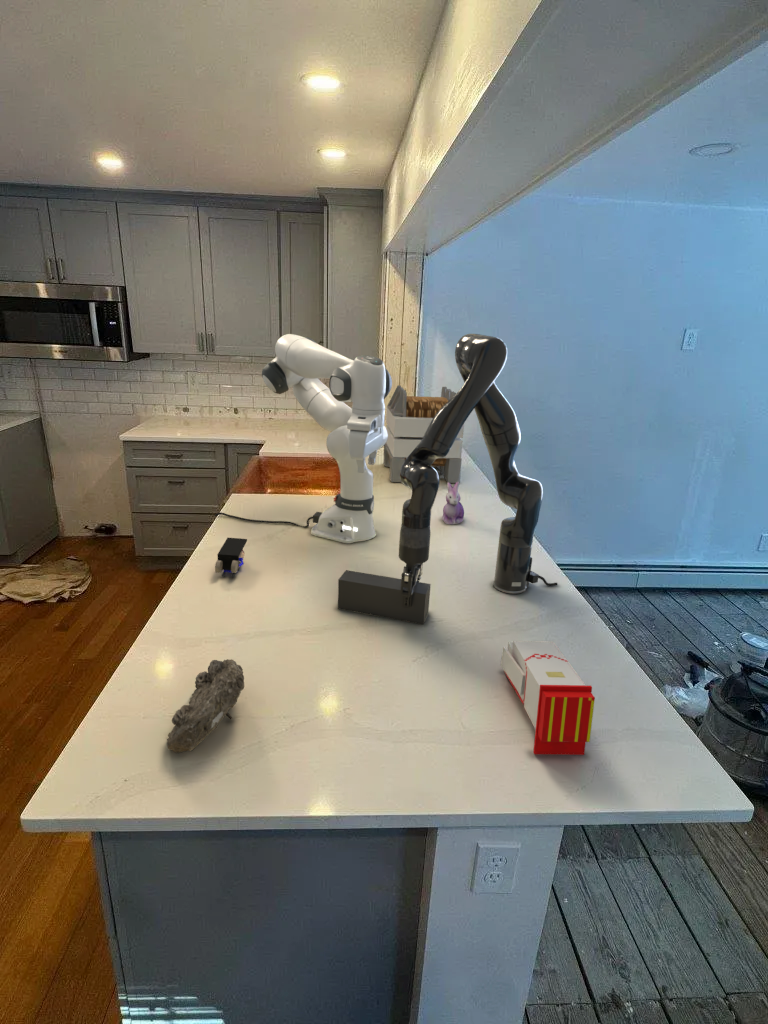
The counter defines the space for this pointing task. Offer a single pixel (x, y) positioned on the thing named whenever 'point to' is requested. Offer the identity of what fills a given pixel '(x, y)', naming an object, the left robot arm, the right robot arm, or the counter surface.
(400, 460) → the transformer
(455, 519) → the figurine
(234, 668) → the fossil
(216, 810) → the counter surface
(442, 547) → the counter surface
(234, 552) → the black wheeled block
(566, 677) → the toy
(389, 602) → the box
